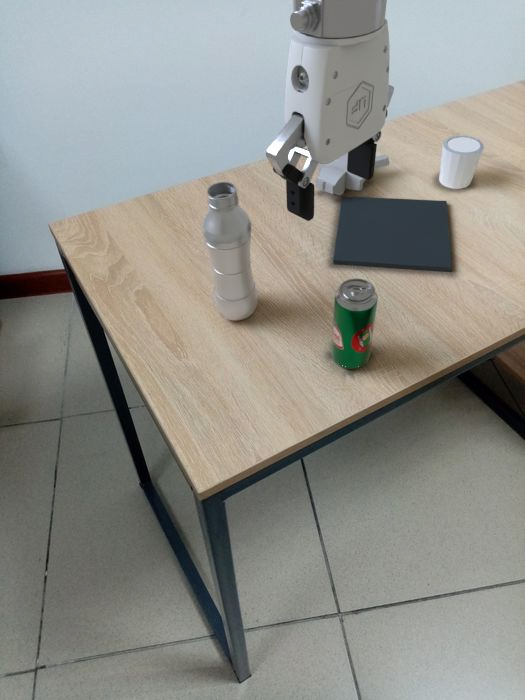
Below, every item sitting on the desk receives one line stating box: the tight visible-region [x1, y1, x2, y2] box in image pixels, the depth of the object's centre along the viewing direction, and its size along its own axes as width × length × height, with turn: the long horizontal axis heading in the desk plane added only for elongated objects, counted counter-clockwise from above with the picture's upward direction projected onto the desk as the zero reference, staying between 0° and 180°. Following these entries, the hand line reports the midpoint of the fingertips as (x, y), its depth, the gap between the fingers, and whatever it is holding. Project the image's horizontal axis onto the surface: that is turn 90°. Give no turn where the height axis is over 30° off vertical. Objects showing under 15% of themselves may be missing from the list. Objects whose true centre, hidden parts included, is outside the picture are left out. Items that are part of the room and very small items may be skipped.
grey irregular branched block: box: [314, 153, 391, 196], centre depth 97 cm, size 10×5×15 cm
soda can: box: [330, 278, 379, 370], centre depth 67 cm, size 5×5×12 cm
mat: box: [332, 195, 453, 273], centre depth 88 cm, size 18×18×1 cm
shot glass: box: [438, 135, 485, 190], centre depth 95 cm, size 7×7×7 cm
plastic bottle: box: [201, 181, 259, 321], centre depth 71 cm, size 6×7×20 cm
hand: (331, 194), depth 56 cm, fingers open, 9 cm apart
